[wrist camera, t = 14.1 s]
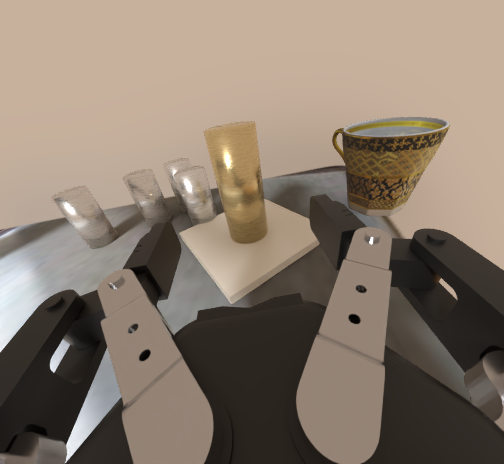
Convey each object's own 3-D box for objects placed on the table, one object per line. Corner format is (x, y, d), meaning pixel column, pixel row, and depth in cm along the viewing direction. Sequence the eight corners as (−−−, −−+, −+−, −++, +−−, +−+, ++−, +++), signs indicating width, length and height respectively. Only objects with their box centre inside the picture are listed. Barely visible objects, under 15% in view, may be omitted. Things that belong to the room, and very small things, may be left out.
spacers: (89, 285, 23) (36, 228, 18) (89, 240, 32) (52, 193, 27) (225, 220, 30) (211, 168, 26) (195, 198, 39) (181, 155, 34)
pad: (231, 304, 18) (229, 297, 18) (181, 238, 28) (178, 232, 28) (331, 236, 24) (331, 229, 23) (260, 201, 34) (259, 196, 33)
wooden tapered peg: (243, 249, 23) (218, 134, 16) (223, 232, 26) (195, 131, 19) (275, 231, 25) (265, 121, 18) (253, 217, 28) (237, 121, 21)
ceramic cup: (434, 204, 26) (471, 117, 20) (384, 234, 23) (412, 140, 17) (349, 179, 36) (358, 115, 30) (306, 197, 33) (307, 130, 27)
